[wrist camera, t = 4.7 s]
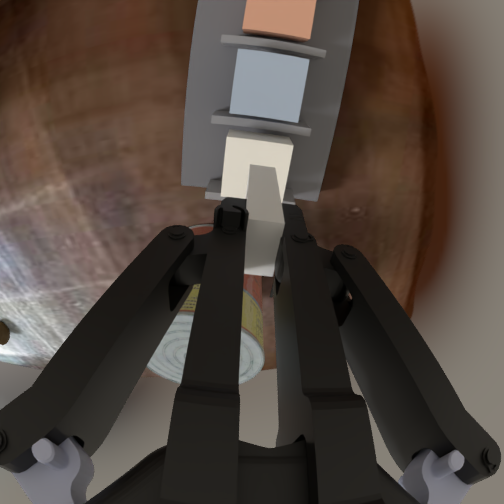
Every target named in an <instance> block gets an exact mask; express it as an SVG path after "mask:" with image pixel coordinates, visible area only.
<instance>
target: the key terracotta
mask: <svg viewBox="0 0 504 504" xmlns="http://www.w3.org/2000/svg"><path fill="white" fill-rule="evenodd" d="M315 6H316V0H247V2H246V8H245V14H244V20H243V27H242V30H243V33H244V34H254V35H262V36H269V37H276V38H282V39H288V40H293V41H298V42H303V43H304V42H306V41H308V40H309V39H310V36H311V30H312V24H313V18H314V12H315Z"/></svg>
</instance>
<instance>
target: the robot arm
mask: <svg viewBox="0 0 504 504" xmlns="http://www.w3.org/2000/svg"><path fill="white" fill-rule="evenodd" d="M274 269H275V278H274V282H273V286H272V290H271V294H270V297H273V296H274V316H275V337H276V360H277V385H278V415H279V430H278V435H277V439H276V447H275V448H265V447H261V446H257V445H254V444H250V443H247V442H243V441H240V440H239V414H240V395H239V367H240V346H241V325H242V305H243V285H244V274H251V275H260V276H270V277H273V273H274ZM196 284H200V288H199V293H198V298H197V302H196V307H195V312H194V317H193V322H192V327H191V332H190V337H189V342H188V347H187V353H186V358H185V364H184V369H183V375H182V380H181V384H180V386H179V387H178V388H177V391H176V394H175V399H174V405H173V410H172V416H171V422H170V429H169V435H168V442H167V445H166V446H163V447H161V448H159V449H157V450H155V451H154V452H152V453H150V454H149V455H148V456H146V457H145V458H144V459H143V460H141V461H140V462H139V463H138V464H136V465H135V466H134V467H133V468H131V469H130V470H129V471H128V472H126V473H125V474H124V475H123V476H121V477H120V478H119V479H117V480H116V481H115V482H113V483H112V484H111V485H109V486H108V487H107V488H105V489H104V490H102V491H101V492H100V493H99V494H97V495H96V496H94V497H93V498H91V499H90V500H89V501H87V500H86V489H87V486H88V485H89V483H90V482H91V480H92V479H93V476H94V465H93V463H92V460H91V458H90V457H91V456H92V455H93V454H94V453H95V451H96V450H97V449H98V448H99V447H100V445H101V444H102V443H103V441H104V440H105V438H106V437H107V435H108V433H109V432H110V430H111V428H112V426H113V424H114V423H115V421H116V419H117V417H118V415H119V413H120V412H121V410H122V408H123V406H124V405H125V403H126V401H127V399H128V398H129V396H130V394H131V392H132V390H133V389H134V387H135V385H136V383H137V382H138V380H139V378H140V377H141V375H142V373H143V371H144V370H145V368H146V366H147V364H148V363H149V361H150V359H151V358H152V356H153V354H154V352H155V351H156V349H157V347H158V346H159V344H160V342H161V341H162V339H163V337H164V336H165V334H166V332H167V330H168V329H169V327H170V325H171V324H172V322H173V320H174V319H175V317H176V316H177V314H178V312H179V311H180V309H181V307H182V306H183V304H184V302H185V301H186V299H187V297H188V296H189V294H190V293H191V291H192V289H193V286H194V285H196ZM349 292H350V294H351V296H352V300H351V299H350V298H349V296H348V294H349ZM346 360H347V362H348V364H349V366H350V368H351V370H352V373H353V375H354V377H355V379H356V381H357V383H358V385H359V387H360V389H361V392H362V394H363V396H364V398H365V400H366V402H367V405H368V407H369V409H370V411H371V413H372V415H373V418H374V420H375V422H376V424H377V427H378V429H379V431H380V433H381V435H382V438H383V440H384V442H385V444H386V447H387V448H388V450H389V453H390V455H391V456H392V457H393V459H394V461H395V462H396V464H397V465H398V467H399V468H400V469H401V470H402V471H403V472H404V474H403V476H401V477H400V479H399V481H398V483H397V482H396V481H395V480H394V479H393V478H392V477H391V476H390V475H389V474H388V473H387V472H386V471H385V470H384V469H383V468H382V467H381V466H380V465H379V464H377V461H376V454H375V449H374V442H373V436H372V430H371V425H370V420H369V414H368V409H367V405H366V402H365V400H364V398H363V397H362V396H361V395H357V394H355V393H354V392H353V390H352V387H351V382H350V377H349V372H348V367H347V362H346ZM500 462H501V452H500V448H499V446H498V445H497V443H496V442H495V441H494V440H493V439H492V438H491V436H490V435H489V434H488V433H487V432H486V431H485V430H484V429H483V428H482V427H481V426H480V425H479V424H478V423H477V422H476V420H475V419H474V418H473V417H472V416H471V415H470V414H469V413H468V412H467V411H466V410H465V408H464V407H463V405H462V403H461V401H460V399H459V397H458V396H457V394H456V392H455V390H454V388H453V387H452V385H451V383H450V381H449V380H448V378H447V376H446V375H445V373H444V371H443V370H442V368H441V366H440V365H439V363H438V361H437V360H436V358H435V357H434V355H433V353H432V352H431V350H430V349H429V347H428V346H427V344H426V342H425V341H424V339H423V338H422V336H421V335H420V333H419V332H418V330H417V329H416V327H415V326H414V324H413V323H412V321H411V320H410V318H409V317H408V315H407V314H406V313H405V311H404V310H403V308H402V307H401V305H400V304H399V303H398V301H397V300H396V298H395V297H394V296H393V294H392V293H391V291H390V290H389V289H388V287H387V286H386V285H385V283H384V282H383V280H382V279H381V278H380V276H379V275H378V274H377V272H376V271H375V270H374V268H373V267H372V266H371V265H370V263H369V262H368V261H367V259H366V258H365V257H364V256H363V254H362V253H361V252H360V251H359V250H357V249H356V248H354V247H352V246H350V245H343V244H342V245H337V246H336V247H335V248H334V250H333V252H332V251H329V250H326V249H323V248H321V247H319V246H317V243H316V240H315V238H314V237H313V236H312V235H311V234H309V233H308V232H307V228H306V225H305V221H304V217H303V214H302V210H301V209H300V208H299V207H298V206H297V205H293V204H286V203H281V197H280V191H279V186H278V180H277V174H276V169H275V167H268V166H260V165H253V164H250V167H249V175H248V182H247V189H246V196H245V199H242V198H234V197H226V198H225V199H223V200H222V202H221V205H219V206H217V207H216V208H215V211H214V225H213V230H212V231H211V232H209V233H206V234H201V235H194V232H193V231H192V230H191V229H190V228H188V227H186V226H181V225H173V226H170V227H166V228H165V229H163V230H162V231H161V232H160V233H159V234H158V235H157V236H156V237H155V238H154V239H153V240H152V241H151V242H150V243H149V245H148V246H147V247H146V248H145V249H144V250H143V251H142V252H141V253H140V254H139V255H138V256H137V257H136V258H135V259H134V260H133V262H132V263H131V264H130V265H129V266H128V267H127V268H126V269H125V270H124V271H123V273H122V274H121V275H120V276H119V277H118V278H117V279H116V280H115V281H114V283H113V284H112V285H111V286H110V287H109V288H108V289H107V291H106V292H105V293H104V294H103V295H102V296H101V298H100V299H99V300H98V301H97V302H96V303H95V305H94V306H93V307H92V308H91V309H90V311H89V312H88V313H87V314H86V315H85V317H84V318H83V319H82V320H81V322H80V323H79V324H78V325H77V326H76V328H75V329H74V330H73V331H72V333H71V334H70V335H69V337H68V338H67V339H66V340H65V342H64V343H63V344H62V346H61V347H60V348H59V350H58V351H57V352H56V353H55V355H54V356H53V357H52V359H51V360H50V362H49V363H48V364H47V366H46V367H45V368H44V370H43V371H42V373H41V374H40V375H39V377H38V378H37V380H36V381H35V382H34V384H33V385H32V387H30V388H29V389H28V390H26V391H25V392H24V393H22V394H21V395H20V396H18V397H17V398H16V399H14V400H13V401H12V402H10V403H9V404H8V405H6V406H5V407H4V408H3V409H1V410H0V467H2V468H4V469H6V470H8V471H10V472H11V473H12V474H13V475H14V477H15V478H16V480H17V481H18V483H19V484H20V486H21V487H22V489H23V490H24V492H25V493H26V495H27V496H28V498H29V499H30V500H31V502H32V503H33V504H460V503H461V501H462V500H463V498H464V497H465V495H466V494H467V492H468V490H469V489H470V487H471V486H472V485H473V484H475V483H477V482H479V481H482V480H484V479H486V478H488V477H490V476H492V475H493V474H495V473H496V471H497V470H498V468H499V465H500Z"/></svg>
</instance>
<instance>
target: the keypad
mask: <svg viewBox="0 0 504 504" xmlns="http://www.w3.org/2000/svg"><path fill="white" fill-rule="evenodd" d="M246 2H247V0H198V5H197V11H196V17H195V24H194V31H193V38H192V46H191V54H190V62H189V71H188V81H187V92H186V103H185V116H184V131H183V150H182V175H181V185H185V186H197V187H207V189H206V192H205V199H213V200H223V199H225V198H226V197H221V187H222V176H223V166H224V157H225V147H226V138H227V135H228V132H229V130H230V129H233V130H242V131H250V132H258V133H265V134H272V135H279V136H285V137H289V138H290V140H291V141H292V143H293V145H294V146H293V151H292V157H291V162H290V167H289V172H288V177H287V182H286V187H285V191H284V196H283V201H282V203H286V204H293V205H295V199H294V198H296V199H303V200H310V201H316V202H317V200H318V196H319V193H320V189H321V185H322V181H323V177H324V173H325V169H326V165H327V161H328V157H329V153H330V148H331V144H332V140H333V136H334V131H335V127H336V122H337V118H338V113H339V109H340V104H341V99H342V94H343V89H344V85H345V80H346V74H347V69H348V64H349V59H350V53H351V48H352V42H353V36H354V30H355V24H356V17H357V11H358V4H359V0H316V6H315V12H314V18H313V24H312V30H311V36H310V39H309V40H308V41H306V42H304V43H303V42H298V41H293V40H288V39H282V38H276V37H269V36H262V35H254V34H244V33H243V30H242V27H243V20H244V14H245V8H246ZM238 49H247V50H256V51H264V52H271V53H277V54H283V55H289V56H294V57H300V58H305V59H309V66H308V71H307V77H306V82H305V88H304V93H303V99H302V104H301V110H300V115H299V120H298V123H296V122H290V121H284V120H278V119H271V118H264V117H257V116H249V115H240V114H231V113H229V112H230V104H231V96H232V88H233V81H234V73H235V66H236V59H237V52H238Z"/></svg>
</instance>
